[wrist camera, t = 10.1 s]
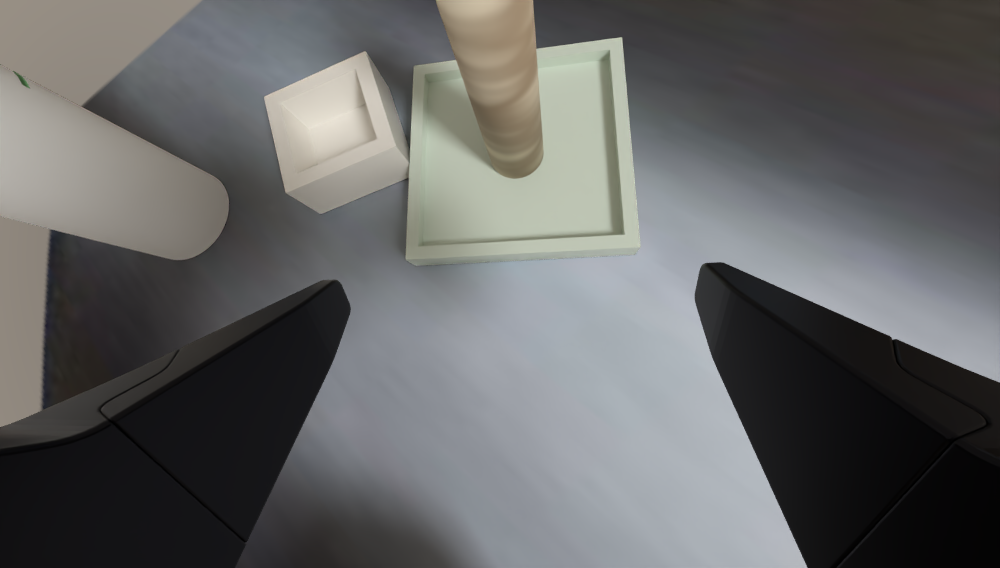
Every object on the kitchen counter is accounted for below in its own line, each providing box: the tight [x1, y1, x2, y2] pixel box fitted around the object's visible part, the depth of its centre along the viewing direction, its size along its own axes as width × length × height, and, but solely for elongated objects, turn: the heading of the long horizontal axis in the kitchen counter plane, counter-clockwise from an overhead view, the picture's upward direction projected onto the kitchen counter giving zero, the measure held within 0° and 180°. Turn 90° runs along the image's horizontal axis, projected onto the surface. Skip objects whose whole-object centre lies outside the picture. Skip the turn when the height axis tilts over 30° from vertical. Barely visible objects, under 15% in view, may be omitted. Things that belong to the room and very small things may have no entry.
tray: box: [406, 37, 640, 266], centre depth 24 cm, size 14×14×2 cm
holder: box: [264, 51, 410, 214], centre depth 25 cm, size 8×8×4 cm
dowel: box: [436, 0, 544, 179], centre depth 17 cm, size 4×4×14 cm
